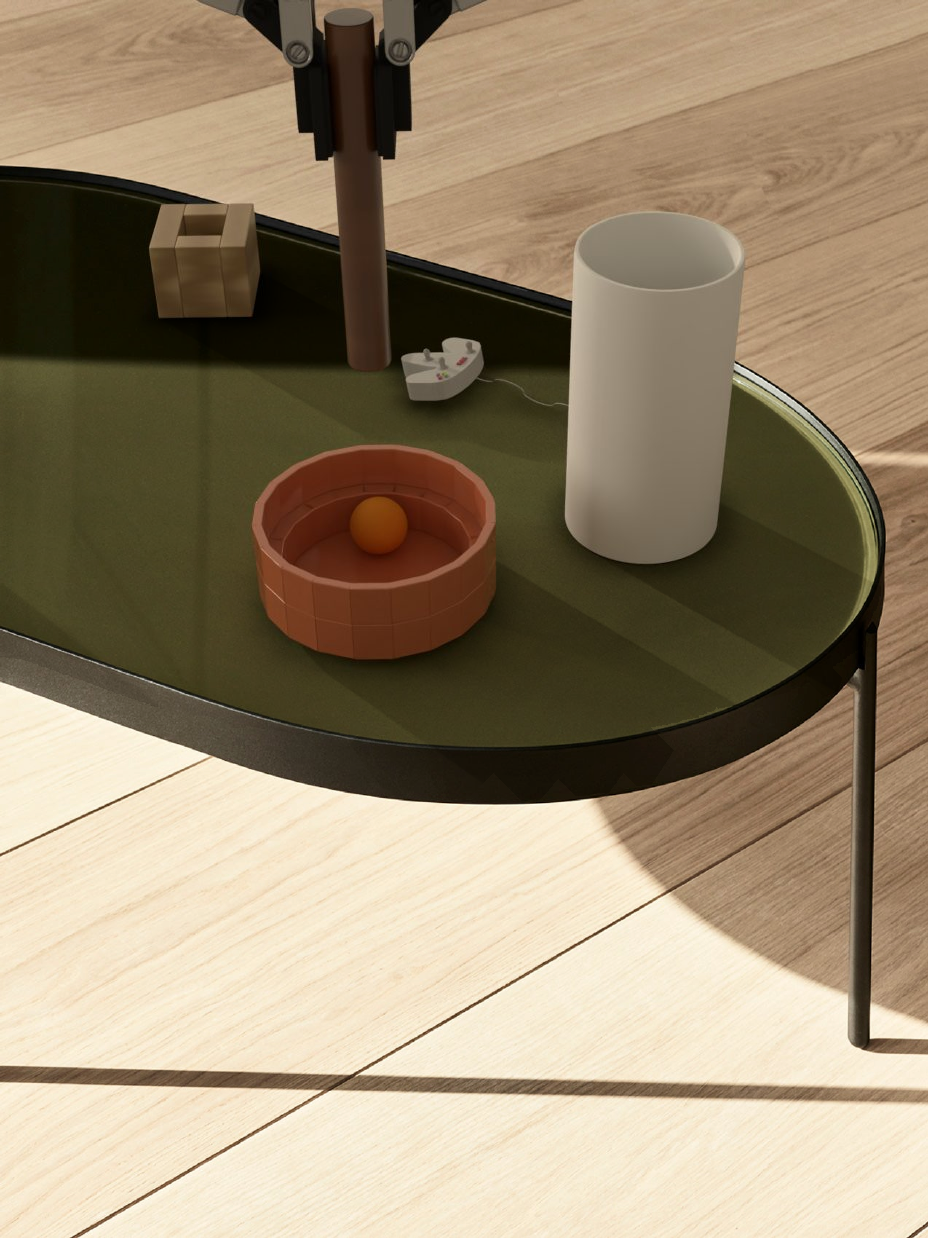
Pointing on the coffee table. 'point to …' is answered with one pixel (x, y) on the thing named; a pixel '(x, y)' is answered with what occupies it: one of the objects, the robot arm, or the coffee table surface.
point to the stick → (358, 186)
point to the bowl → (375, 583)
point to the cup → (650, 383)
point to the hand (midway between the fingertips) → (356, 143)
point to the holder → (205, 260)
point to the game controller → (445, 370)
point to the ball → (378, 525)
